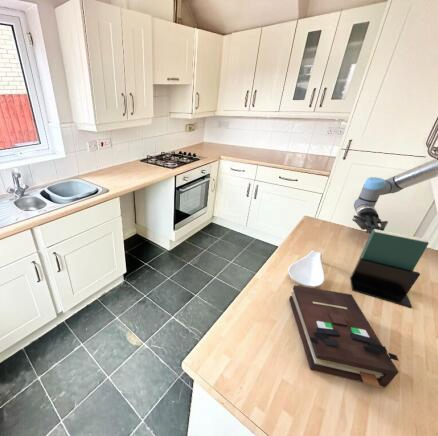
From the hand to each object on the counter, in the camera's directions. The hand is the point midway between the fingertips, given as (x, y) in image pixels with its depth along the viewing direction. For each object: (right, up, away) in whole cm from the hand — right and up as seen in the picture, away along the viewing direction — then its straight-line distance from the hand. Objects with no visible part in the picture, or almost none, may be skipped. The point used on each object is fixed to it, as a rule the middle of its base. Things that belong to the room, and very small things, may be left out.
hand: (376, 236), depth 103 cm
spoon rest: (-33, -15, -6) cm, 37 cm away
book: (-9, -7, -14) cm, 18 cm away
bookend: (-14, -19, -15) cm, 28 cm away
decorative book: (-43, -28, -30) cm, 59 cm away
